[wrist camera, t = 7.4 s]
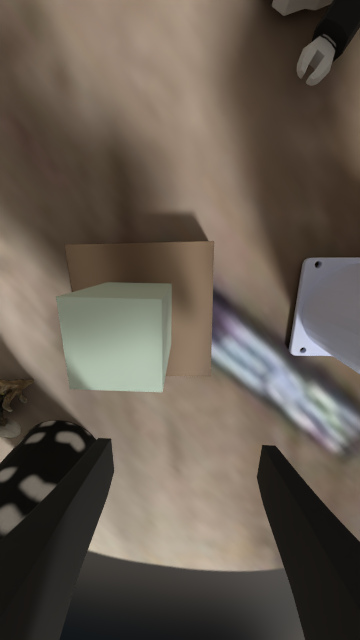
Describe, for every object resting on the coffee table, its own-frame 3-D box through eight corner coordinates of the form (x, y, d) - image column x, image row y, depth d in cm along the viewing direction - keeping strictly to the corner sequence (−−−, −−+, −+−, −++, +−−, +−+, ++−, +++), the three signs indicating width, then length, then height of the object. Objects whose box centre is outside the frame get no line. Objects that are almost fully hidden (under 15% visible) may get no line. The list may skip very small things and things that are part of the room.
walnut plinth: (209, 244, 16) (214, 241, 14) (207, 358, 19) (210, 376, 16) (85, 246, 17) (64, 244, 14) (101, 358, 20) (86, 375, 17)
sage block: (171, 283, 14) (161, 299, 9) (171, 343, 16) (162, 392, 10) (107, 282, 15) (56, 297, 9) (112, 341, 16) (69, 389, 10)
